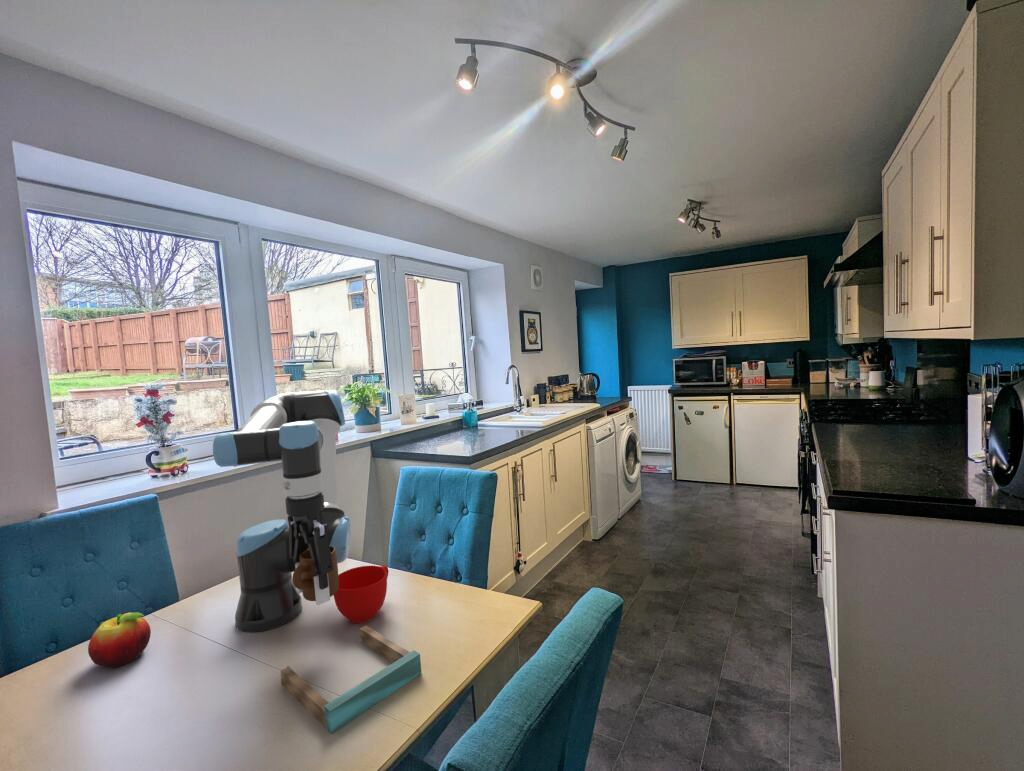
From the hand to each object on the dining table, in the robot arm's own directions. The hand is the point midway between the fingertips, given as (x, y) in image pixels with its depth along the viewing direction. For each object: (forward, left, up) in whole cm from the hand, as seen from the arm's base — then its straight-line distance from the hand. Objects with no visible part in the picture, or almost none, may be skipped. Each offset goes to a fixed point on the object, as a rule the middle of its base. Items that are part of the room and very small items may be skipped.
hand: (313, 595), depth 102 cm
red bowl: (-6, +16, -13) cm, 21 cm away
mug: (+1, 0, -1) cm, 1 cm away
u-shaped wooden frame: (+13, 0, -13) cm, 18 cm away
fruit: (-35, -28, -13) cm, 47 cm away
